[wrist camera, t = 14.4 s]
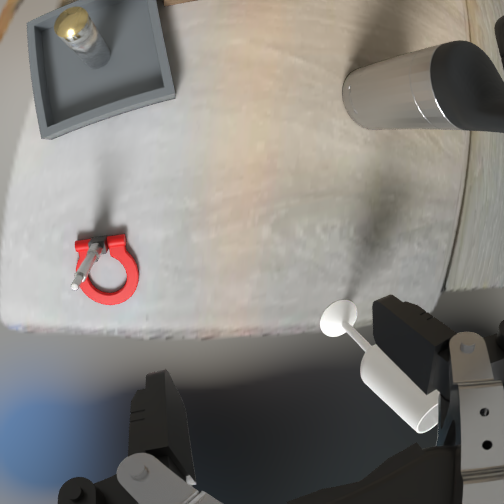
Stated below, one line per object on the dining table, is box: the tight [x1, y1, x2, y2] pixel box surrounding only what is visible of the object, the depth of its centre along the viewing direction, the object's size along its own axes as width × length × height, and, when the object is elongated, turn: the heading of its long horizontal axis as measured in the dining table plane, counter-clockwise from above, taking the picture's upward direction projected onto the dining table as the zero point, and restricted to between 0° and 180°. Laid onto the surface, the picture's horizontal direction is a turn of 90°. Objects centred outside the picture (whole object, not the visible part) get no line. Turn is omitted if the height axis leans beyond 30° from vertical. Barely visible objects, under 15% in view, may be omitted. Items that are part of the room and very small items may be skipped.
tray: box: [27, 0, 175, 139], centre depth 29 cm, size 16×16×4 cm
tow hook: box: [71, 234, 139, 305], centre depth 33 cm, size 8×13×9 cm
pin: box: [54, 7, 111, 69], centre depth 24 cm, size 3×3×12 cm
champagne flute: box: [320, 300, 439, 433], centre depth 38 cm, size 7×7×24 cm
